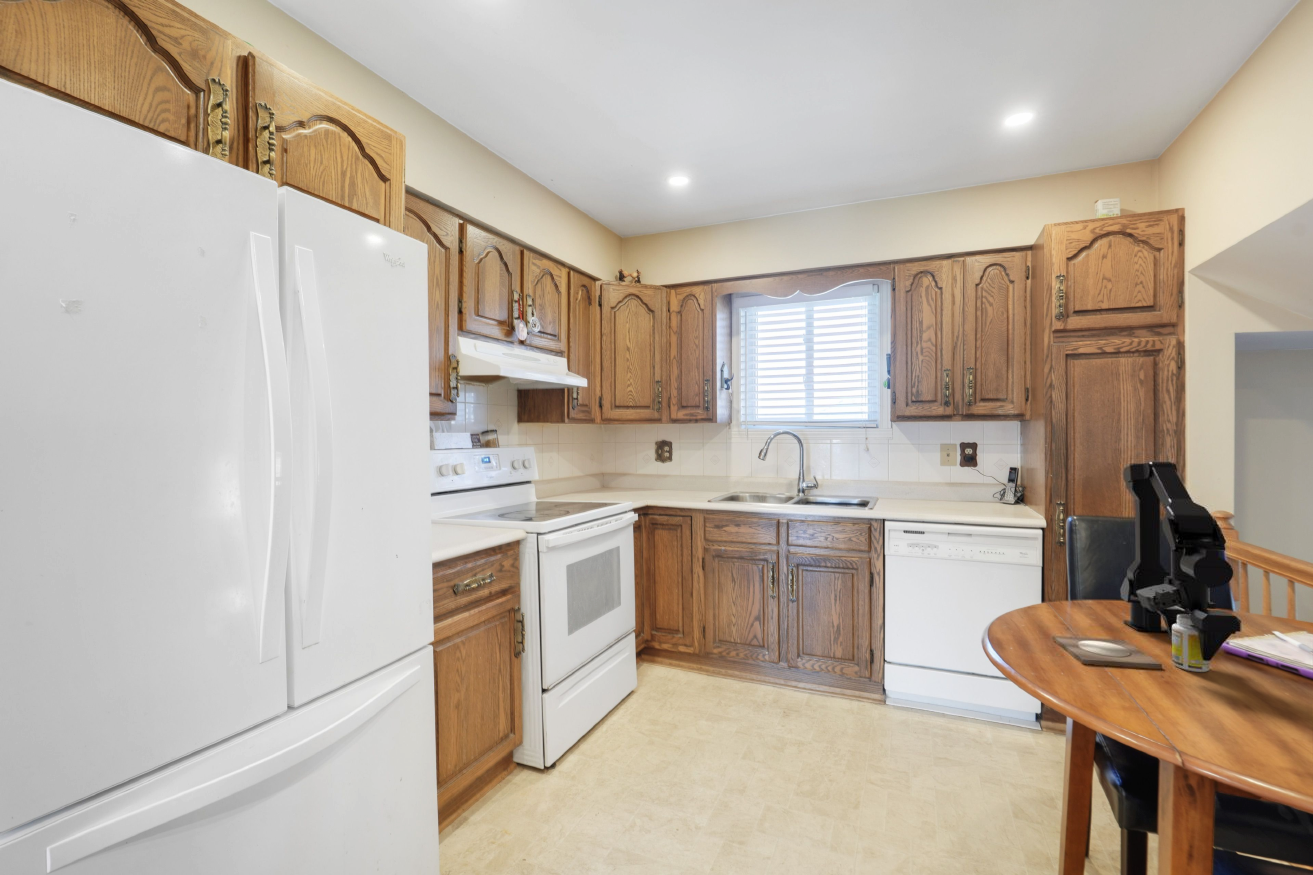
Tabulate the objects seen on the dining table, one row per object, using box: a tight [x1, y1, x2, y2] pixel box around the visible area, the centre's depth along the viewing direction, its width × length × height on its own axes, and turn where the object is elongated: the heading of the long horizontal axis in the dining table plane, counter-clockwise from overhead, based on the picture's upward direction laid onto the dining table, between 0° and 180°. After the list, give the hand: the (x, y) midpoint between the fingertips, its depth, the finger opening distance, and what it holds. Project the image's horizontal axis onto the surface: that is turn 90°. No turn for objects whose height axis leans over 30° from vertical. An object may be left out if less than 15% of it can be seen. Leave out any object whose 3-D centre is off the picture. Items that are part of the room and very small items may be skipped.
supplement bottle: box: [1171, 614, 1211, 673], centre depth 117 cm, size 6×6×10 cm
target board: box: [1052, 635, 1163, 670], centre depth 125 cm, size 14×14×1 cm
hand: (1190, 651), depth 118 cm, fingers open, 9 cm apart
